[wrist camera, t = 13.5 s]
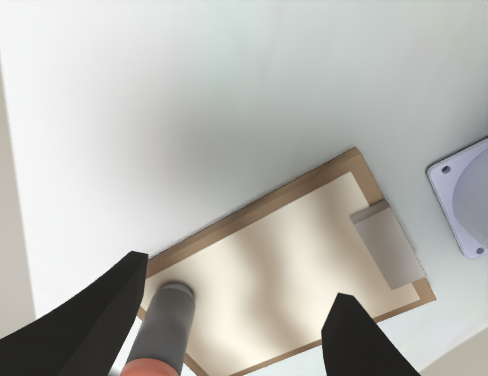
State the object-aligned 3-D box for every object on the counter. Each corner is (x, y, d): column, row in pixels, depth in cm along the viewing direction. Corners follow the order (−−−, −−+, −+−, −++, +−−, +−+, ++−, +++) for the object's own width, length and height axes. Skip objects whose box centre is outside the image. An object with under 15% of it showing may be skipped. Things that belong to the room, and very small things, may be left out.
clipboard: (355, 146, 21) (366, 159, 18) (428, 287, 25) (444, 310, 23) (115, 277, 26) (103, 299, 24) (211, 375, 30) (208, 401, 28)
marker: (178, 270, 23) (145, 366, 17) (207, 299, 24) (188, 401, 18) (145, 291, 24) (101, 390, 18) (174, 318, 25) (144, 422, 19)
